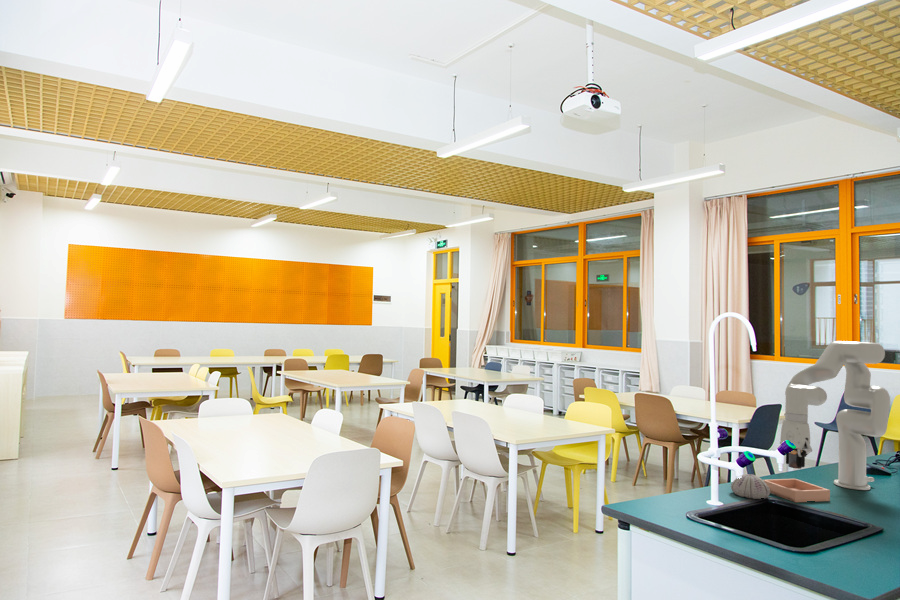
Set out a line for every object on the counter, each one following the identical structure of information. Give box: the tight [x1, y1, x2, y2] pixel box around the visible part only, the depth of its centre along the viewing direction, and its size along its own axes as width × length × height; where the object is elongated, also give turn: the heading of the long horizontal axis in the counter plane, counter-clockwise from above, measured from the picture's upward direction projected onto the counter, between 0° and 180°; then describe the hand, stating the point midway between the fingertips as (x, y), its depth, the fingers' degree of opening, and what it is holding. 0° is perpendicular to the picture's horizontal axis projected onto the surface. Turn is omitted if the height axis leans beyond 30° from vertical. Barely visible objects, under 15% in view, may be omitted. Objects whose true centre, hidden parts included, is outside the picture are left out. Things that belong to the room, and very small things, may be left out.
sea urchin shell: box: [730, 473, 771, 500], centre depth 223 cm, size 13×14×8 cm
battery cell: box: [787, 448, 803, 470], centre depth 226 cm, size 4×4×8 cm
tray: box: [762, 478, 831, 503], centre depth 226 cm, size 16×16×4 cm
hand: (795, 464), depth 226 cm, fingers closed on battery cell, 4 cm apart
